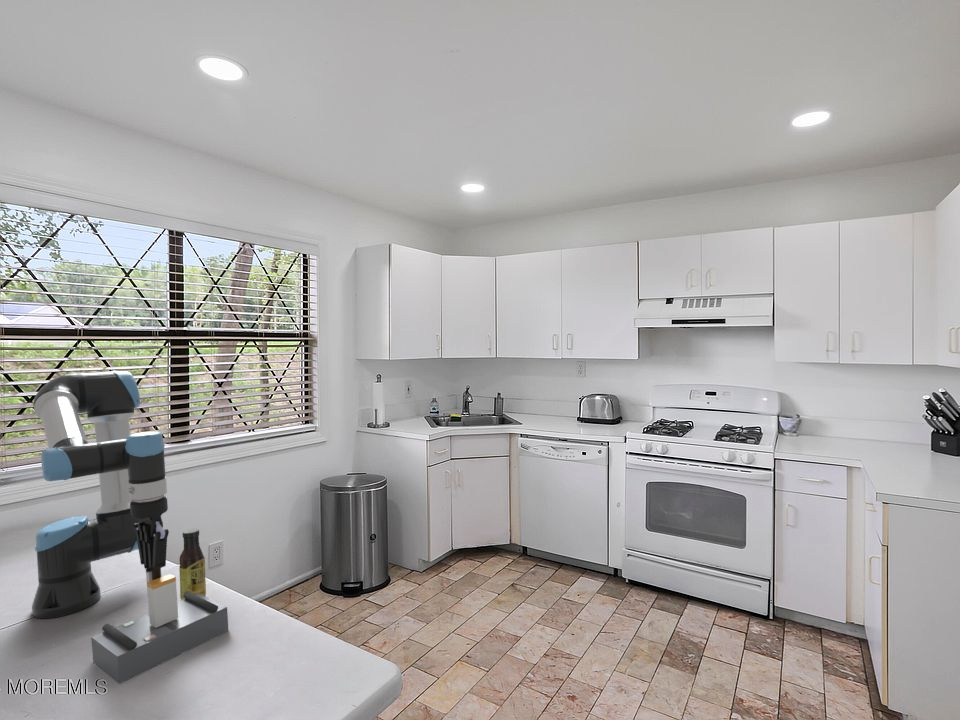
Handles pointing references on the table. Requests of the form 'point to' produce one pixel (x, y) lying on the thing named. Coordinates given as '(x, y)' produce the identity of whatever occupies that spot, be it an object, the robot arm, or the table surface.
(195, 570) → the sauce bottle
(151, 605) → the lever
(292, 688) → the table surface
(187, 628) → the switch panel
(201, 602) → the pair of dark rails
